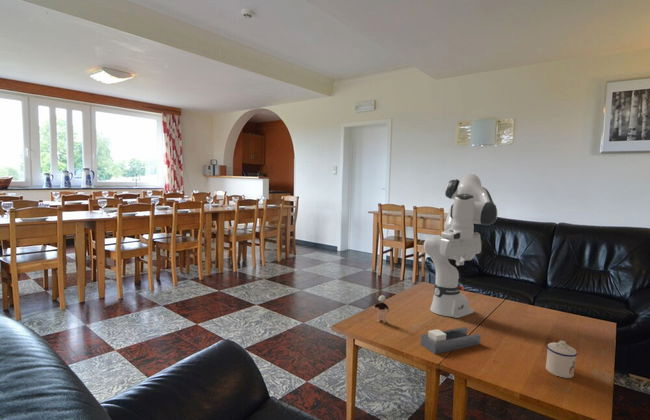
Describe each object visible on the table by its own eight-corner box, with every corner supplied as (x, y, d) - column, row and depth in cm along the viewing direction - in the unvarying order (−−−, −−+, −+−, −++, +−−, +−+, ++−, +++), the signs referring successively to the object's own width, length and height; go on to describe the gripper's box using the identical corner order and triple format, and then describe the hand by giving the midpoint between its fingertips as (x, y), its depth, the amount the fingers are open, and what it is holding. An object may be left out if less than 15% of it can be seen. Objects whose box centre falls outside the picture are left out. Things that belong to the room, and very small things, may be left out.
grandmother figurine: (388, 320, 173) (389, 294, 172) (389, 323, 169) (390, 297, 168) (372, 319, 174) (373, 293, 173) (372, 322, 170) (374, 296, 169)
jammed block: (437, 340, 151) (437, 329, 150) (445, 346, 146) (446, 334, 146) (427, 342, 149) (428, 330, 148) (435, 348, 144) (436, 336, 144)
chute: (464, 335, 159) (464, 326, 159) (480, 344, 151) (480, 335, 151) (420, 344, 150) (421, 335, 149) (434, 354, 142) (435, 344, 141)
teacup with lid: (575, 381, 126) (579, 349, 124) (545, 373, 130) (548, 343, 129) (572, 366, 136) (575, 337, 135) (544, 359, 140) (547, 331, 139)
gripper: (474, 230, 159) (472, 261, 160) (438, 232, 150) (436, 265, 152) (486, 233, 153) (483, 264, 155) (448, 235, 145) (446, 269, 146)
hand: (459, 265), depth 153 cm, fingers closed
